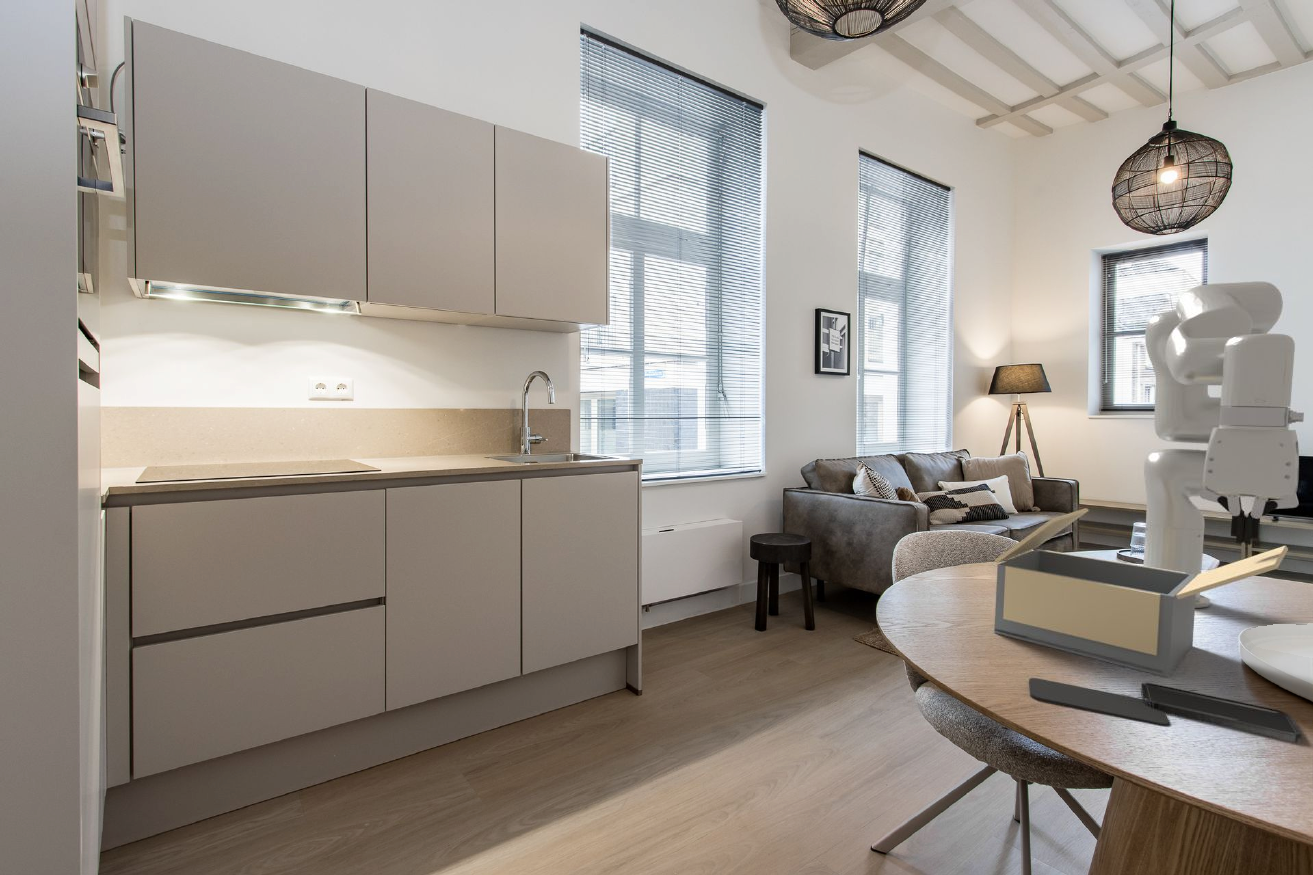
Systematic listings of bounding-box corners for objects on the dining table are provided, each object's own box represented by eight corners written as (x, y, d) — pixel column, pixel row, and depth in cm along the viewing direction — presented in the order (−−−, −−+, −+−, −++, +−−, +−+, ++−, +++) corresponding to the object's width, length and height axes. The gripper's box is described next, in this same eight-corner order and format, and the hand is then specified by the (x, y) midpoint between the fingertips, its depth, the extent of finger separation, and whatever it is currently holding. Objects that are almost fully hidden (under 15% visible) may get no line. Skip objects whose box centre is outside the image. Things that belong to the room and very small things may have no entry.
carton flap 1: (1035, 548, 124) (1032, 545, 125) (1088, 510, 118) (1086, 508, 118) (996, 562, 111) (994, 560, 112) (1054, 521, 105) (1051, 518, 105)
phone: (1172, 725, 79) (1030, 696, 86) (1171, 732, 79) (1030, 702, 86) (1159, 702, 85) (1028, 676, 92) (1158, 708, 85) (1028, 681, 92)
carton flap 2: (1285, 545, 99) (1288, 549, 99) (1198, 574, 106) (1200, 577, 106) (1274, 564, 86) (1277, 568, 85) (1175, 595, 93) (1178, 599, 93)
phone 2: (1141, 681, 90) (1288, 711, 82) (1140, 688, 90) (1288, 720, 82) (1143, 700, 84) (1303, 736, 75) (1142, 709, 84) (1303, 745, 75)
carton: (1034, 609, 125) (1037, 548, 125) (1193, 645, 108) (1197, 574, 107) (992, 633, 111) (996, 564, 111) (1167, 678, 93) (1172, 597, 93)
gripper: (1327, 420, 91) (1317, 548, 92) (1192, 417, 102) (1184, 531, 103) (1325, 422, 86) (1314, 556, 87) (1183, 418, 97) (1175, 537, 98)
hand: (1244, 542), depth 95 cm, fingers closed
